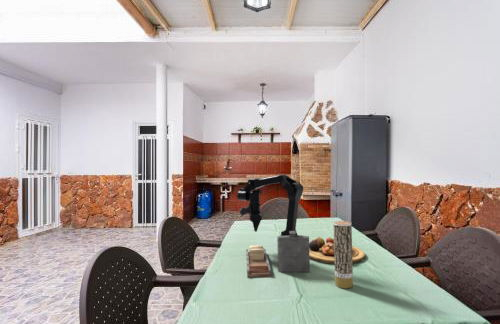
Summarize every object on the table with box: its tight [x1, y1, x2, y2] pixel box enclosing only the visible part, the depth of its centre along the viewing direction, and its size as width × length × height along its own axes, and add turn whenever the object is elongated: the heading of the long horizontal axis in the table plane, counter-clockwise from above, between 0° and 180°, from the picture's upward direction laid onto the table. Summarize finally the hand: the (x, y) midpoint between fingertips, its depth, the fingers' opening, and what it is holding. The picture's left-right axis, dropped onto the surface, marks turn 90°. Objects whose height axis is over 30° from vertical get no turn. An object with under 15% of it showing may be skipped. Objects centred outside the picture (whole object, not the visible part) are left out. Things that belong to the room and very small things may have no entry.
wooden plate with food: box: [309, 236, 366, 265], centre depth 146 cm, size 32×32×8 cm
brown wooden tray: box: [245, 248, 272, 278], centre depth 134 cm, size 30×10×4 cm, turn 2°
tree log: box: [333, 220, 354, 289], centre depth 109 cm, size 7×7×25 cm
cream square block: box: [248, 244, 265, 260], centre depth 140 cm, size 7×7×5 cm
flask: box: [276, 230, 311, 274], centre depth 125 cm, size 4×14×18 cm, turn 85°
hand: (255, 230), depth 149 cm, fingers open, 6 cm apart
